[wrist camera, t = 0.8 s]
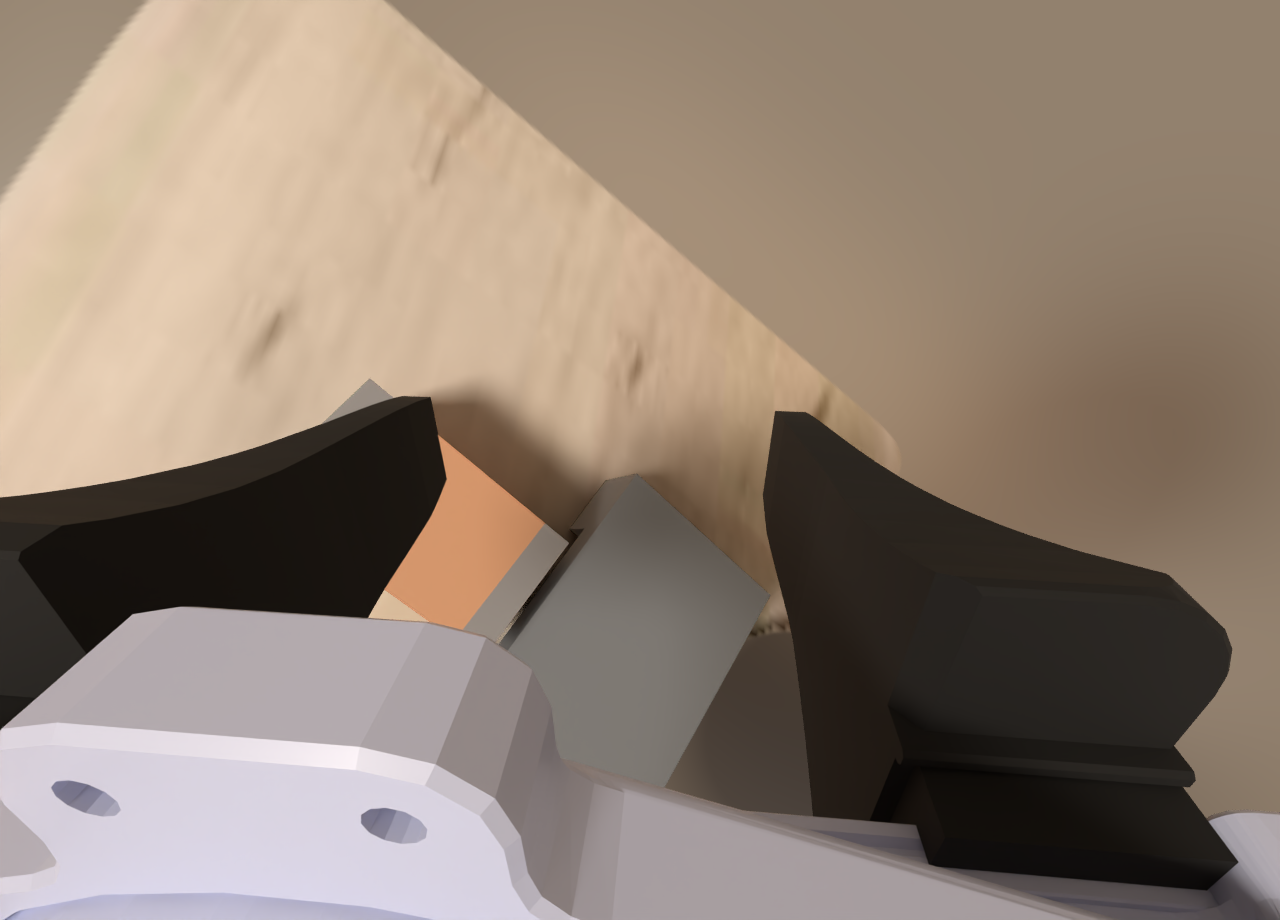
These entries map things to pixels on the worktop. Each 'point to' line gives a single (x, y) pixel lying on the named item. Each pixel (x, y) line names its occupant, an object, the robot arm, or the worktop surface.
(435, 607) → the block
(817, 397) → the worktop surface
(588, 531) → the stand
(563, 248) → the worktop surface
